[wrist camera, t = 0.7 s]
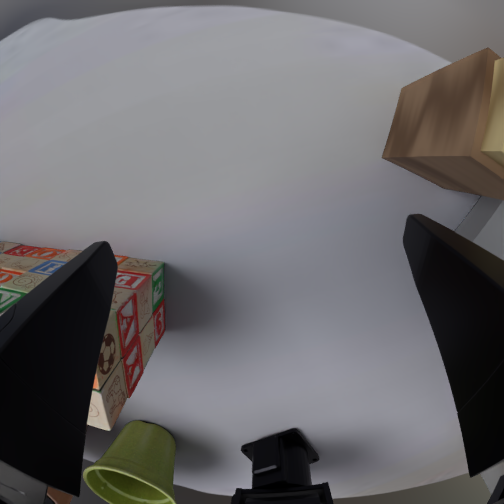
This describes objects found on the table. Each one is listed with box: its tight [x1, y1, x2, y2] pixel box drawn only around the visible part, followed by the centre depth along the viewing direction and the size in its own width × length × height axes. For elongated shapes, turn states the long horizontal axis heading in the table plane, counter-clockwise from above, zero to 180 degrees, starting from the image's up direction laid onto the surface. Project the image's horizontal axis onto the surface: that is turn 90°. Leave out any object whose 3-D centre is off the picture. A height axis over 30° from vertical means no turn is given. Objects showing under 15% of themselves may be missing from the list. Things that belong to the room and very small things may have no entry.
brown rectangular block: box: [382, 48, 504, 200], centre depth 14 cm, size 6×6×12 cm
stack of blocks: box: [0, 242, 165, 431], centre depth 19 cm, size 21×6×12 cm, turn 85°
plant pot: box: [83, 421, 177, 504], centre depth 25 cm, size 9×9×9 cm
